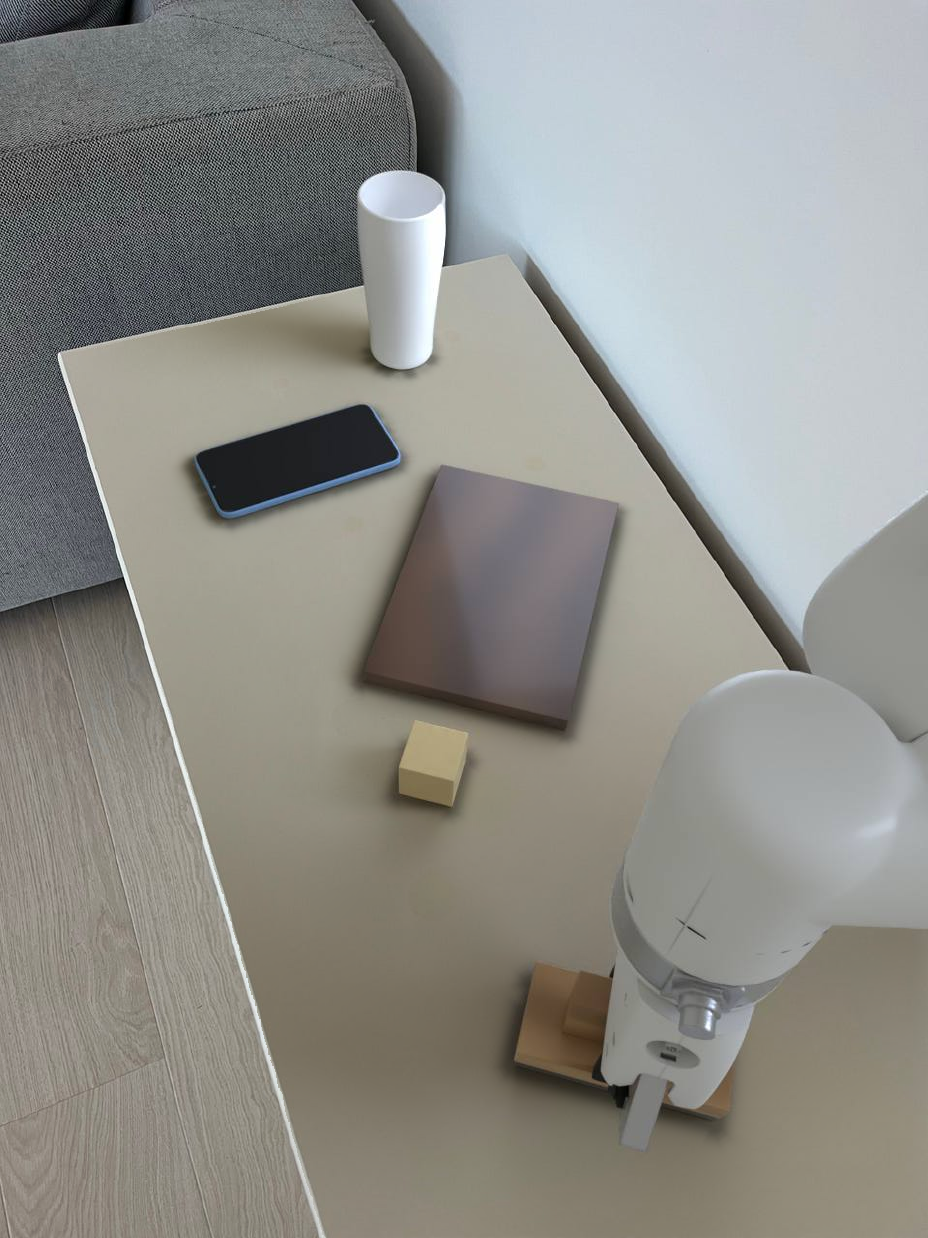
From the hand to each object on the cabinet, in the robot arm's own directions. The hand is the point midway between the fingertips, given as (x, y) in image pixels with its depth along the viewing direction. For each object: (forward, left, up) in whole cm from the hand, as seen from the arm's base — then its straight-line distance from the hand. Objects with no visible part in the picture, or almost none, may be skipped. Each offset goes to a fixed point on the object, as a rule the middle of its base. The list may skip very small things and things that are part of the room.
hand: (629, 1033), depth 57 cm
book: (+14, -29, -3) cm, 32 cm away
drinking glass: (+28, -52, -3) cm, 59 cm away
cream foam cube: (+14, -13, -3) cm, 20 cm away
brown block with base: (0, 0, -3) cm, 3 cm away
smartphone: (+32, -37, -3) cm, 49 cm away
